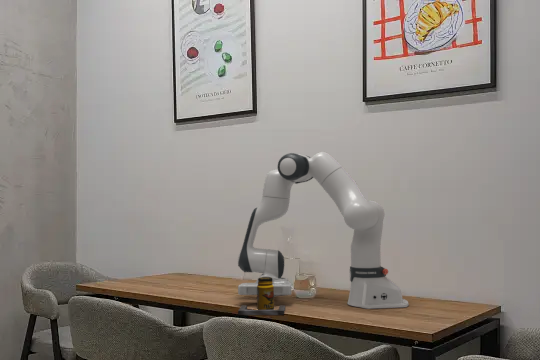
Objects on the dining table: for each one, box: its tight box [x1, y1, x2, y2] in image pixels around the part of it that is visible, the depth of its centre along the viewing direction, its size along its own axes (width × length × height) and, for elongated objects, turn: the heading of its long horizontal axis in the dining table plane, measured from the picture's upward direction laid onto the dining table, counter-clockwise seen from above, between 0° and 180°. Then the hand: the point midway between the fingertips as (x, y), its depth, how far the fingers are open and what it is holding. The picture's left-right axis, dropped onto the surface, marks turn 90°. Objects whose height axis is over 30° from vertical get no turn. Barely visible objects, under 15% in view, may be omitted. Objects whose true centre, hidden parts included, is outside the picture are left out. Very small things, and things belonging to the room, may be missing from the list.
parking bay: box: [237, 304, 286, 316], centre depth 222 cm, size 16×10×2 cm, turn 85°
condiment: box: [256, 276, 275, 310], centre depth 225 cm, size 7×8×12 cm
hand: (263, 292), depth 228 cm, fingers closed
